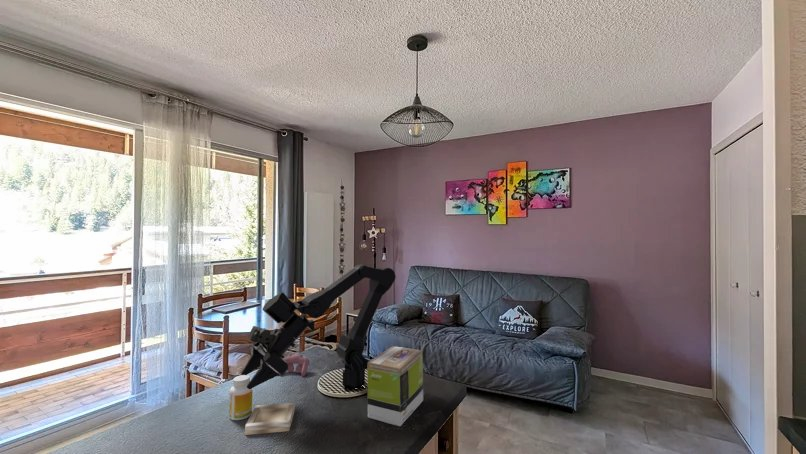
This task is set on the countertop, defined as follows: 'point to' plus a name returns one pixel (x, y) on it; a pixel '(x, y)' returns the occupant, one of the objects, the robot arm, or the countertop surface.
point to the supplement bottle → (240, 398)
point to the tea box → (395, 384)
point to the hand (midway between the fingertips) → (244, 381)
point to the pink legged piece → (299, 360)
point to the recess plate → (270, 418)
